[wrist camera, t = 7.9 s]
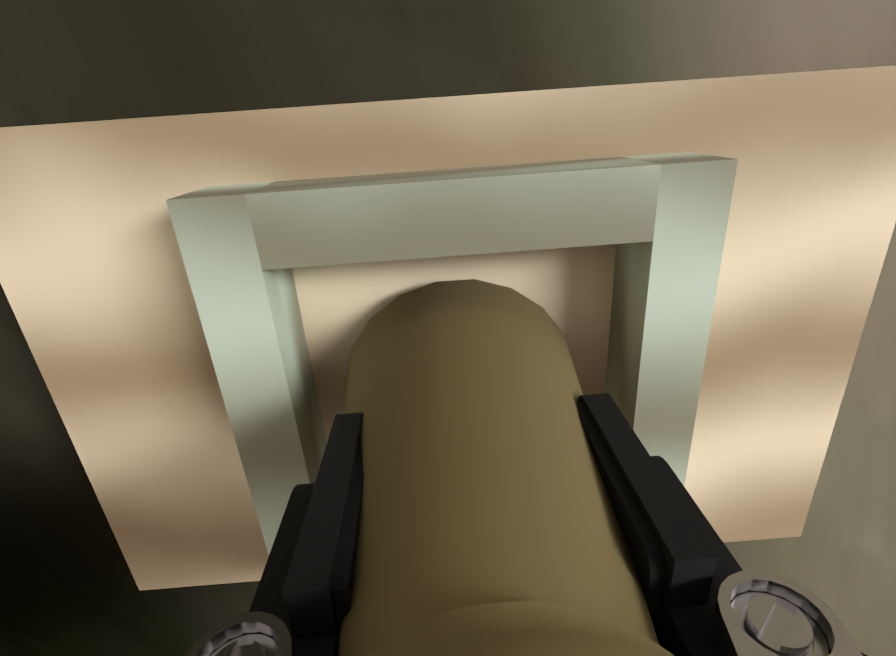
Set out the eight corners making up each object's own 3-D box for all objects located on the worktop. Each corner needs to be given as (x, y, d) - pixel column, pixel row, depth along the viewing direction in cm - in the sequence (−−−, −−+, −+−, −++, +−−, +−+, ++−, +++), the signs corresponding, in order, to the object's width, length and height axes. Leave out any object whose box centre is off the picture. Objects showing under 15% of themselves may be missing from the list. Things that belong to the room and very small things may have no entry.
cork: (509, 232, 11) (1221, 1216, 1) (609, 419, 13) (1154, 1316, 3) (297, 354, 12) (-290, 1444, 2) (422, 509, 14) (415, 1411, 4)
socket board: (-10, 131, 12) (-173, 135, 9) (884, 68, 12) (1050, 51, 9) (162, 553, 17) (102, 651, 14) (771, 503, 18) (848, 588, 14)
